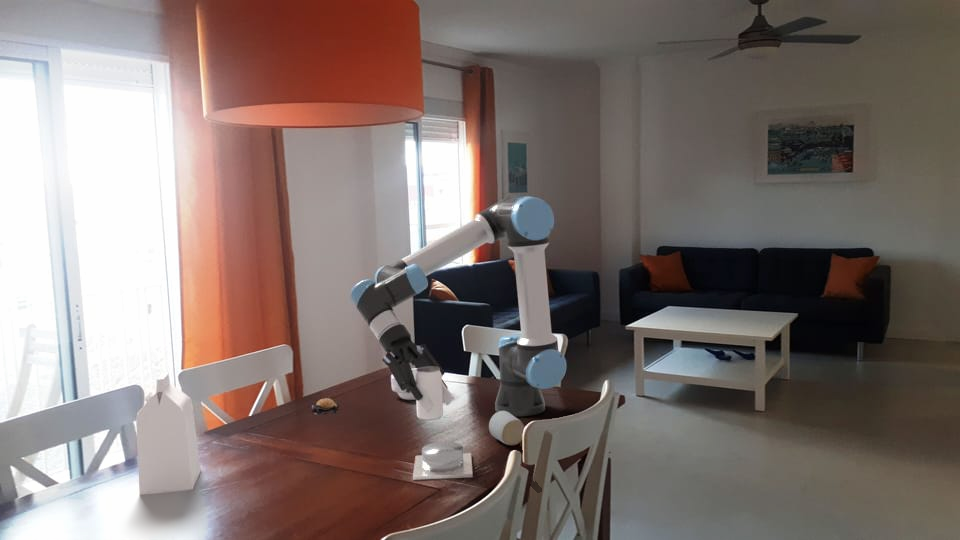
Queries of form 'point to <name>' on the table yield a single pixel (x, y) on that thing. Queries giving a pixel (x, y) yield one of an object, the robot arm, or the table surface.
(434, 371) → the can
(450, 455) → the duct collar
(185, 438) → the milk
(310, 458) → the table surface
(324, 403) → the toy turtle
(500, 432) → the ceramic mug
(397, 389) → the white bowl
